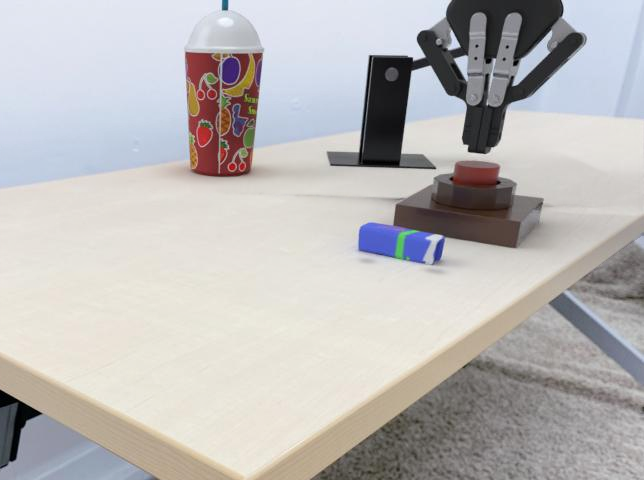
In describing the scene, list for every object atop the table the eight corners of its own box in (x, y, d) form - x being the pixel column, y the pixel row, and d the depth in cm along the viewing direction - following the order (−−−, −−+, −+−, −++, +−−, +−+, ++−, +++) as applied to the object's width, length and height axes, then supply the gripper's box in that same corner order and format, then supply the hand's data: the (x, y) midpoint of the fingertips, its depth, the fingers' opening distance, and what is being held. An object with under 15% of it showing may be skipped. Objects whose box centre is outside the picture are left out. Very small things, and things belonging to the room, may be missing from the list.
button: (500, 183, 61) (504, 163, 60) (491, 191, 58) (494, 169, 58) (458, 178, 63) (461, 158, 62) (446, 185, 60) (450, 164, 59)
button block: (538, 222, 63) (548, 177, 62) (515, 249, 56) (525, 198, 54) (427, 206, 68) (433, 165, 67) (392, 229, 61) (398, 182, 59)
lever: (490, 51, 82) (487, 30, 81) (503, 53, 77) (500, 30, 76) (375, 85, 85) (371, 64, 84) (380, 88, 80) (376, 67, 79)
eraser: (432, 266, 51) (436, 240, 51) (356, 251, 55) (359, 226, 54) (441, 260, 53) (446, 234, 52) (367, 245, 56) (370, 220, 55)
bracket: (421, 163, 90) (437, 55, 84) (434, 177, 81) (452, 58, 76) (326, 160, 91) (335, 53, 86) (329, 174, 83) (339, 57, 78)
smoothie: (263, 187, 76) (273, -22, 68) (185, 187, 75) (186, -23, 67) (252, 172, 83) (260, -17, 75) (181, 172, 83) (182, -19, 75)
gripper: (625, -85, 52) (571, 154, 59) (444, -75, 59) (415, 139, 66) (615, -100, 46) (556, 168, 53) (416, -86, 53) (387, 150, 60)
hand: (478, 151), depth 60 cm, fingers closed
